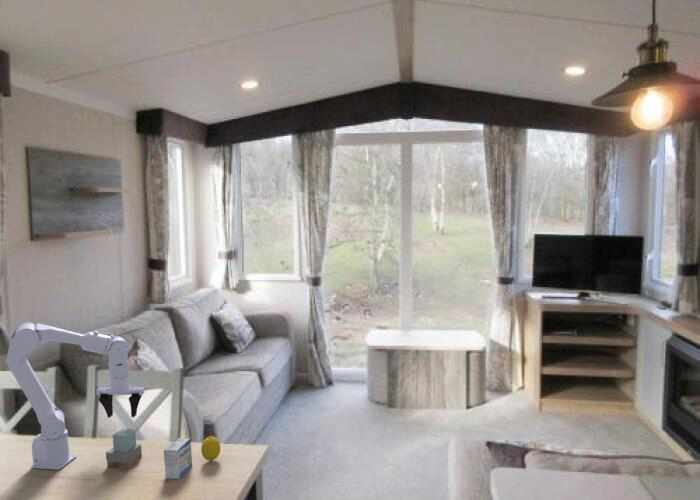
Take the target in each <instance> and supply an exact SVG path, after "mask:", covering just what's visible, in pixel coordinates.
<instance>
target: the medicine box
mask: <svg viewBox="0 0 700 500" xmlns="http://www.w3.org/2000/svg"><path fill="white" fill-rule="evenodd" d="M192 454H193V453H192V440H191V439H190V438H185V437H178V438H176V439H175V440H174V441H173V442H172V443H171V444H169V445H168V446H167V447H166V448H165V449H164V450H163V460H164V473H165V475H164V477H165V479H173V480H180V479H181V478H182V477H183V476H184V474H185V473H186V472H188V470H189V469H191V467H192V466H193V456H192Z"/></svg>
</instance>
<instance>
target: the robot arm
mask: <svg viewBox="0 0 700 500" xmlns="http://www.w3.org/2000/svg"><path fill="white" fill-rule="evenodd" d="M51 341H54V342H60V343H65V344H70V345H77V346H80V347H81V349H82V350H83V351H86V352H92V353H96V354H101V355H108V360H109V361H108V371H109V374H108V375H109V385H110V386H106V387H98V388H97V389H96V390H95V391H96V396H97V397H99V398H98V401H99V403H101V406H103V409H104V410H105V413H106V416H107V418H108V419H109V418H111V417H112V416H113V415H114V409H113V398H114V396H119V395H123V396H126V395H131V396H129V397H128V400H129V401H128V402H129V405H130V414H131V418H135V417H136V416H137V412H138V407H139V404H140V401H141V398H142V397H143V395H144V394H145V387H144V386H143V387H142V386H134V385H131V381H130V380H131V379H130V365H129V360H128V358H129V355H128V354H129V351H130V348H129V345H128V343H127V341H126V339H124V338H123V337H122V336H119V335H113V334H111V335H106V334H103V333H99V331H97V330H94V331H93V332H92V331H88V332H86V333H84V334H83V333H79V332H75V331H70V330H66V329H64V328H59V327H55V326H52V325H49V324H48V325H47V324H43V323H36V324H35V323H34V322H31V321H27V322H23V323H20V324H19V325H17V327H16V328H15V330H14V332H13V333H12V335H11V337H10V341H9V346H8V349H7V350H8V351H7V356H6V360H5V361H6V362H5V363H6V365H7V366H8V368H9V369H10V371H11V374H12V375H13V377H14V379H15V380H16V382H17V384H18V385H19V387H20V389H21V390H22V392H23V393H24V395H25V397H26V398H27V401H28V403H30V406H31V407H32V408H33V411H34V412H35V414H36V418H37V420H38V423H39V424H40V426H41V427H40V432H41V433H38V434H37V435H36V436H35V437H34V438H33V439H32V440H33V441H32V444H31V452H32V453H31V454H32V465H31V466H30V468H31V469H43V470H56V471H59V470H62V468H64V467H65V466H66V465H68V464H69V463H70V462H72V461H73V460H74V459H77V455H74V454H70V446H69V436H68V435H69V434H68V429H66V424H65V423H66V422H65V419H66V415H65V413H64V412H63V411H62V410H61V409H59V408H58V407H57V406H56V404H55V403H54V402H53V401H52V400H51V399H50V396H49V395H48V393H47V392H46V390H45V388H44V386H43V384H42V383H41V381H40V379H39V377H38V376H37V374H36V372H35V371H34V369H33V367H32V365H31V363H30V362H29V360H28V357H29V355H30V352H31V351H32V350H33V349H34V348H35V347H37V345H38V343H39V342H40V345H44V344H47V343H49V342H51Z"/></svg>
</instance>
